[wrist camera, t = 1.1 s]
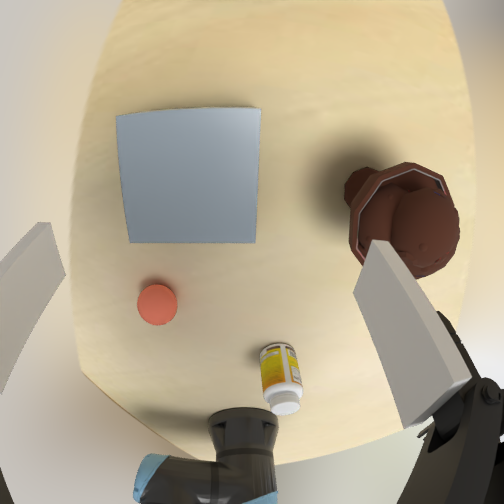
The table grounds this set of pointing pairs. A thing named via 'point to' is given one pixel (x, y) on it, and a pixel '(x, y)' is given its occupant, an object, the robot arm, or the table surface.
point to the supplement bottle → (281, 379)
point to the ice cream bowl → (403, 215)
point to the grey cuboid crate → (190, 174)
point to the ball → (157, 304)
